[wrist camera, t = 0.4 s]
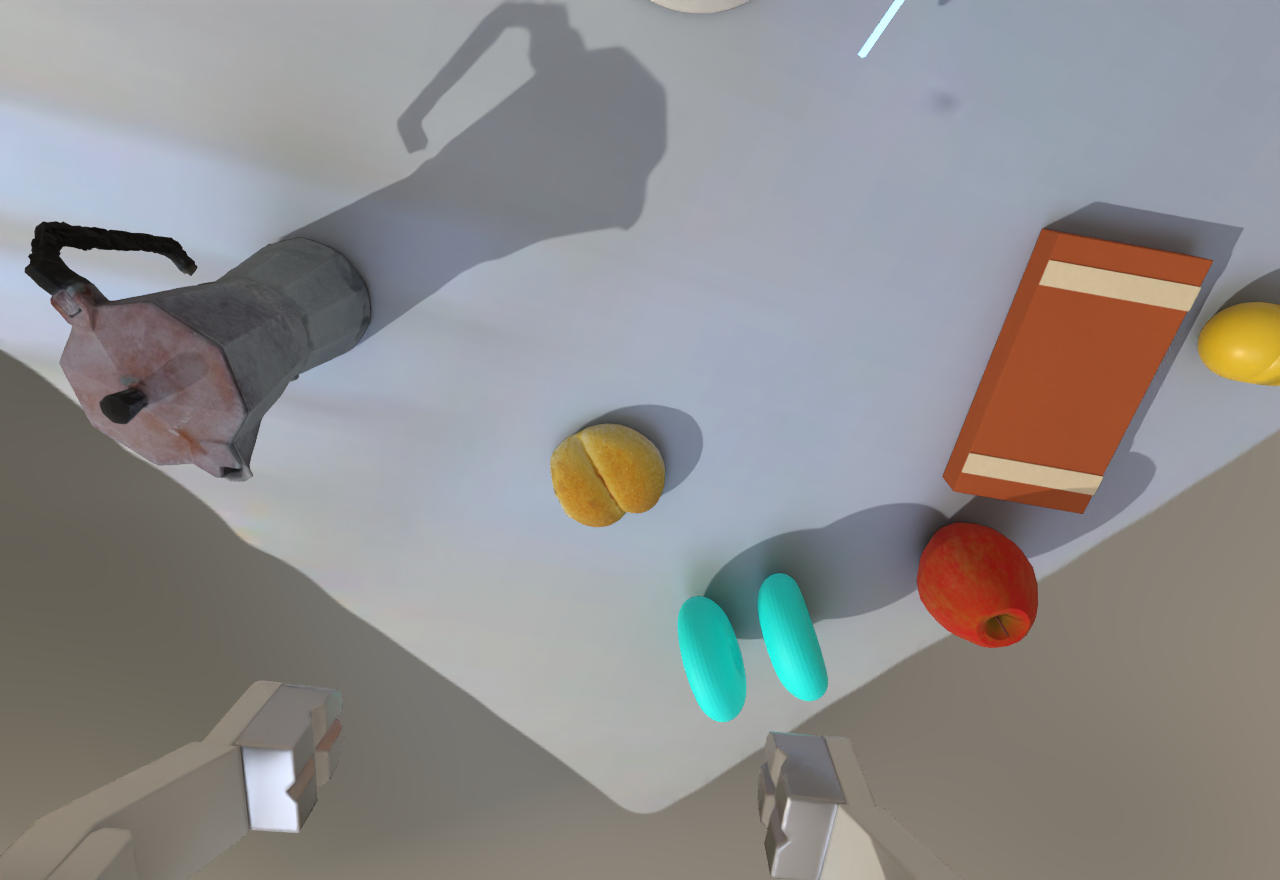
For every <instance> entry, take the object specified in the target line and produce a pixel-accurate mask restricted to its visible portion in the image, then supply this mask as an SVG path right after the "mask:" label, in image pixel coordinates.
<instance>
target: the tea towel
mask: <svg viewBox="0 0 1280 880" xmlns="http://www.w3.org/2000/svg"><path fill="white" fill-rule="evenodd" d="M1212 262H1213V260H1209V259H1205V258H1200V257H1196V256H1191V255H1187V254H1181V253H1176V252H1170V251H1165V250H1159V249H1154V248H1148V247H1143V246H1137V245H1132V244H1126V243H1120V242H1115V241H1109V240H1104V239H1098V238H1093V237H1087V236H1082V235H1076V234H1071V233H1065V232H1060V231H1054V230H1048V229H1042V230H1041V233H1040V235H1039V238H1038V240H1037V243H1036V245H1035V248H1034V250H1033V253H1032V255H1031V258H1030V260H1029V263H1028V265H1027V268H1026V270H1025V273H1024V275H1023V278H1022V280H1021V283H1020V285H1019V288H1018V290H1017V293H1016V295H1015V298H1014V300H1013V303H1012V305H1011V308H1010V310H1009V312H1008V315H1007V317H1006V320H1005V322H1004V325H1003V327H1002V330H1001V332H1000V335H999V337H998V340H997V342H996V345H995V347H994V350H993V352H992V355H991V357H990V360H989V362H988V365H987V367H986V370H985V372H984V375H983V377H982V380H981V382H980V385H979V387H978V390H977V392H976V395H975V397H974V400H973V402H972V405H971V407H970V410H969V412H968V415H967V417H966V420H965V422H964V425H963V427H962V430H961V432H960V435H959V437H958V440H957V442H956V445H955V447H954V449H953V452H952V454H951V457H950V459H949V462H948V464H947V467H946V469H945V472H944V474H943V478H944V479H945V481H946V482H947V483H948V485H949V486H950V487H951V488H952V490H953V491H955V492H961V493H967V494H972V495H978V496H984V497H989V498H995V499H1001V500H1006V501H1012V502H1018V503H1023V504H1029V505H1035V506H1041V507H1046V508H1052V509H1058V510H1063V511H1069V512H1075V513H1080V514H1083V513H1084V511H1085V509H1086V507H1087V505H1088V503H1089V501H1090V499H1091V497H1092V495H1094V494H1095V493H1096V491H1097V489H1098V487H1099V485H1100V483H1101V481H1102V479H1103V474H1104V472H1105V470H1106V468H1107V466H1108V464H1109V462H1110V460H1111V459H1112V457H1113V455H1114V453H1115V451H1116V449H1117V447H1118V445H1119V443H1120V441H1121V439H1122V437H1123V435H1124V433H1125V431H1126V429H1127V427H1128V426H1129V424H1130V422H1131V420H1132V418H1133V416H1134V414H1135V412H1136V410H1137V408H1138V406H1139V404H1140V402H1141V400H1142V398H1143V396H1144V394H1145V393H1146V391H1147V389H1148V387H1149V385H1150V383H1151V381H1152V379H1153V377H1154V375H1155V373H1156V371H1157V369H1158V367H1159V365H1160V363H1161V361H1162V360H1163V358H1164V356H1165V354H1166V352H1167V350H1168V348H1169V346H1170V344H1171V342H1172V340H1173V338H1174V336H1175V334H1176V332H1177V330H1178V328H1179V327H1180V325H1181V323H1182V321H1183V319H1184V317H1185V315H1186V313H1187V311H1189V310H1190V309H1191V307H1192V305H1193V303H1194V301H1195V299H1196V297H1197V295H1198V293H1199V291H1200V289H1201V287H1200V286H1201V284H1202V282H1203V280H1204V278H1205V276H1206V274H1207V272H1208V270H1209V268H1210V266H1211V264H1212Z"/></svg>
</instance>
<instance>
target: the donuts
mask: <svg viewBox="0 0 1280 880" xmlns="http://www.w3.org/2000/svg"><path fill="white" fill-rule="evenodd" d="M758 615H759V621H760V625H761V630H762V633H763V637H764V641H765V644H766V647H767V650H768V653H769V656H770V659H771V662H772V664H773V667H774V669H775V671H776V673H777V675H778V677H779V679H780V681H781V682H782V684H783V685H784V686H785V688H786V689H787V690H788V691H789V692H790V693H791V694H793V695H794V696H795V697H797V698H799V699H801V700H805V701H814V700H817V699H819V698H821V697H822V696H823V695H824V693H825V692H826V690H827V686H828V676H827V672H826V667H825V663H824V660H823V656H822V653H821V649H820V646H819V643H818V639H817V636H816V633H815V630H814V627H813V624H812V621H811V618H810V615H809V612H808V609H807V607H806V604H805V601H804V598H803V596H802V593H801V591H800V589H799V587H798V585H797V583H796V581H795V580H794V579H793V578H792V577H790V576H788V575H786V574H783V573H776V574H773V575H771V576H769V577H768V578H766V579H765V581H764V582H763V583H762V585H761V587H760V590H759V594H758ZM678 638H679V645H680V651H681V656H682V660H683V664H684V668H685V672H686V675H687V678H688V681H689V684H690V687H691V689H692V691H693V694H694V696H695V698H696V700H697V702H698V704H699V706H700V707H701V709H702V710H703V712H704V713H705V714H706V715H707V716H708V717H710V718H711V719H713V720H715V721H718V722H727V721H730V720H732V719H734V718H735V717H736V716H737V715H738V714H739V713H740V711H741V709H742V707H743V705H744V702H745V697H746V675H745V669H744V664H743V659H742V655H741V651H740V648H739V645H738V641H737V638H736V636H735V633H734V630H733V628H732V626H731V623H730V621H729V619H728V618H727V616H726V614H725V613H724V611H723V610H722V609H721V608H720V607H719V606H718V605H717V604H716V603H715V602H714V601H712V600H711V599H709V598H706V597H702V596H695V597H692V598H690V599H688V600H687V601H686V602H685V603H684V604H683V605H682V607H681V609H680V612H679V616H678Z"/></svg>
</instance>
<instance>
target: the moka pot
mask: <svg viewBox="0 0 1280 880" xmlns="http://www.w3.org/2000/svg"><path fill="white" fill-rule="evenodd" d="M34 232H35V239H33V240H32V242H31V246H32V250H31V251H32V254H29V256H28V257H29V258H30V264H29V265H28V266H27V267H26V268H25V273H26V274H27V275H28V276H30V277H31V278H32V279H33V280H34V281H35V282H36V283H37V284H38V285H39V286H40V287H41V288H43V289H44V290H45V291H47V292H48V293H49V294H51V295H52V298H51V304H52V305H53V307H54V308H55V309H56V310H57V311H58V312H59V313H60V314H61V315H62V316H63V318H64V319H65V320H66V321H67V322H68V323H69V324H71V325H72V330H71V333H70V336H69V338H68V341H67V343H66V346H65V348H64V351H63V354H62V356H61V359H60V362H59V363H60V365H61V367H62V369H63V371H64V373H65V375H66V377H67V379H68V381H69V383H70V385H71V386H72V388H73V390H74V392H75V394H76V396H77V398H78V400H79V402H80V404H81V405H82V407H83V409H84V411H85V413H86V415H87V417H88V418H89V420H90V422H91V424H92V425H93V426H94V427H95V428H96V429H98V430H100V431H101V432H103V433H104V434H106V435H107V436H109V437H111V438H113V439H114V440H116V441H118V442H120V443H121V444H123V445H125V446H126V447H128V448H130V449H131V450H133V451H134V452H136V453H138V454H139V455H141V456H143V457H144V458H146V459H147V460H149V461H150V462H152V463H154V464H157V465H178V464H194V465H196V466H198V467H200V468H201V469H203V470H205V471H206V472H208V473H210V474H211V475H213V476H214V477H218V478H225V479H227V480H230V481H236V482H240V481H246V480H248V479H249V478H251V477H253V474H252V472H251V470H250V466H249V464H250V460H251V456H252V452H253V449H254V446H255V443H256V439H257V435H258V431H259V427H260V423H261V420H262V418H263V416H264V415H265V413H266V412H267V411H268V410H269V409H270V408H271V406H272V405H273V404H274V403H275V402H276V401H277V400H278V398H279V397H280V396H281V395H282V393H283V392H284V390H285V388H286V387H287V385H288V383H289V382H291V381H294V380H297V379H298V378H299V374H301V373H303V372H306V371H308V370H310V369H312V368H314V367H316V366H318V365H320V364H323V363H325V362H327V361H329V360H331V359H333V358H335V357H338V356H340V355H342V354H344V353H346V352H348V351H350V350H351V349H353V348H354V347H355V345H356V344H357V343H358V342H359V340H360V339H361V338H362V336H363V335H364V333H365V331H366V329H367V327H368V325H369V323H370V302H369V296H368V291H367V289H366V286H365V284H364V282H363V281H362V279H361V277H360V276H359V275H358V273H357V272H356V271H355V269H354V268H353V267H352V266H351V265H350V263H349V262H348V261H347V260H346V259H345V258H344V257H343V256H342V255H341V254H339V253H338V252H336V251H334V250H333V249H331V248H329V247H328V246H325V245H323V244H320V243H317V242H314V241H311V240H307V239H304V238H295V239H290V240H285V241H281V242H277V243H274V244H268V245H267V246H266V247H264V248H262V249H261V250H259V251H258V252H256V253H255V254H253V255H252V256H251V257H250V258H248V259H247V260H245V261H244V262H242V263H241V264H240V265H238V266H237V267H235V268H234V269H232V270H230V271H229V272H228V273H226V274H225V275H224V276H223V277H221V278H220V279H218V280H217V281H215V282H209V283H203V284H198V285H196V286H188V287H182V288H176V289H172V290H167V291H162V292H157V293H152V294H148V295H142V296H137V297H131V298H126V299H121V300H116V301H109V300H108V299H107V298H106V297H105V296H104V295H103V294H102V293H101V292H100V291H99V290H98V289H97V287H96V286H95V285H94V284H92V283H91V282H90V281H88V280H87V279H86V278H84V277H81V276H79V275H78V274H76V273H75V272H73V271H72V270H71V269H69V268H68V267H67V265H66V264H65V263H64V262H63V260H62V259H61V258H60V257H59V255H60V252H59V251H60V250H61V249H62V247H64V246H68V247H74V248H77V249H82V250H84V251H86V250H87V249H88V250H91V249H92V248H97V249H103V250H114V249H115V250H118V251H119V250H123V251H130V250H132V251H140V250H142V251H146V252H153V253H158V254H161V255H164V256H166V257H168V258H169V259H171V260H172V261H173V262H174V263H175V265H176V266H177V267H178V269H179V270H180V271H182V272H183V273H184V274H185V273H187V274H189V275H190V276H192V274H193V273H194V272H195V271H196V269H197V266H196V265H195V262H194V261H193V260H192V259H191V258H190V257H188V256H187V254H186V251H184V250H182V246H181V245H180V244H179V242H177V241H175V240H173V239H172V238H168V237H160V236H153V235H150V234H144V233H130V232H126V231H117V230H109V231H107V230H106V229H101V228H96V227H91V228H90V227H81V226H71V225H69V224H67V223H65V222H62V223H59V222H57V221H56V222H42V223H41V224H39V225H38V226H37V227H36V228H35V231H34Z"/></svg>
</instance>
